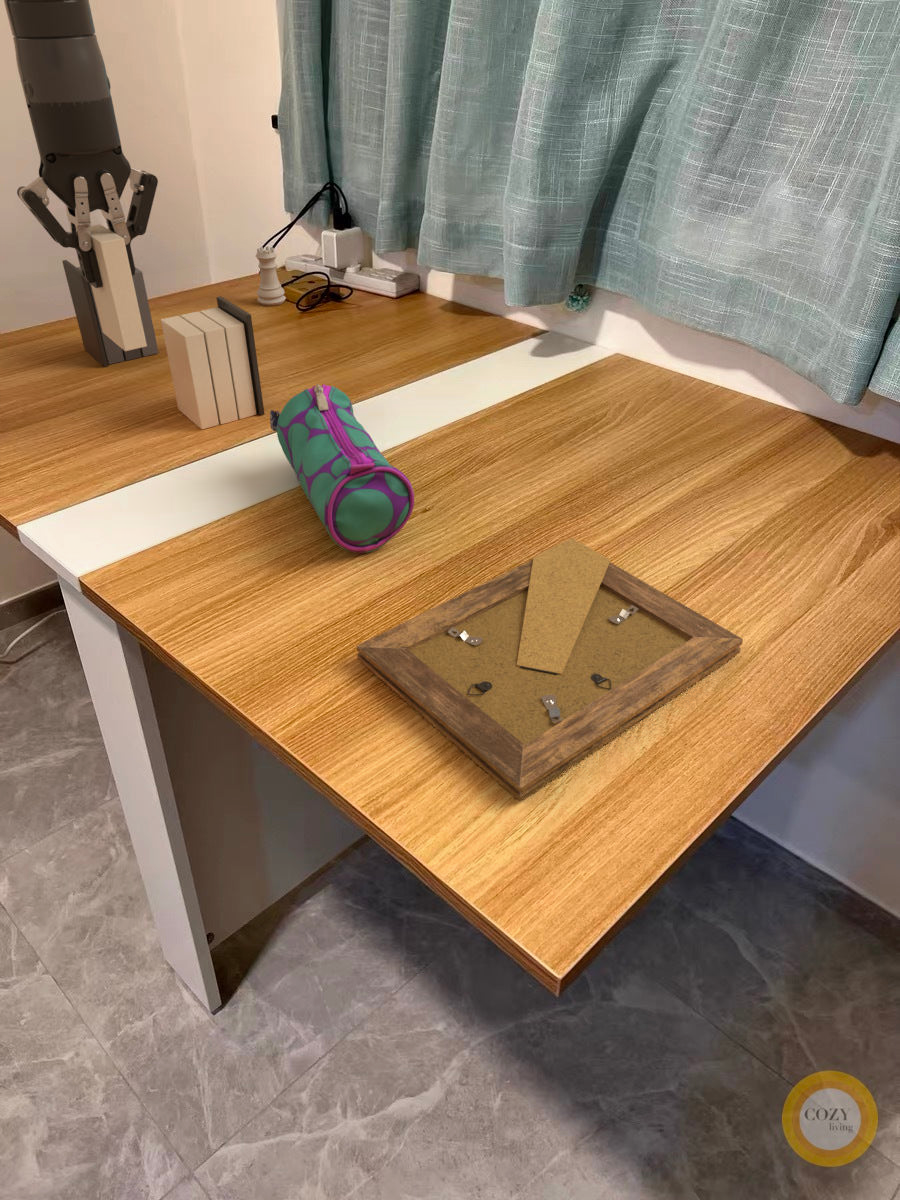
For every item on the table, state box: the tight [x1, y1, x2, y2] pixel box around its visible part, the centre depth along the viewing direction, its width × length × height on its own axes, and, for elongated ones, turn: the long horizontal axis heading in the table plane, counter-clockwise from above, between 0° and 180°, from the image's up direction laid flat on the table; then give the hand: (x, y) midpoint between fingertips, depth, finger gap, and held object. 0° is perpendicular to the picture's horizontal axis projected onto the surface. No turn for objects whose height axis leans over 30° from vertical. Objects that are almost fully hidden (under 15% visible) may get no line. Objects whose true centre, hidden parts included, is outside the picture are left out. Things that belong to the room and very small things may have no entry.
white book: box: [90, 223, 147, 351], centre depth 93 cm, size 2×7×11 cm, turn 36°
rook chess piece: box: [255, 246, 287, 307], centre depth 137 cm, size 4×4×8 cm
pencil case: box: [269, 384, 415, 554], centre depth 86 cm, size 21×9×10 cm, turn 22°
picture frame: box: [356, 537, 744, 802], centre depth 69 cm, size 19×2×24 cm
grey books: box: [61, 259, 160, 368], centre depth 119 cm, size 8×8×12 cm
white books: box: [160, 296, 265, 431], centre depth 103 cm, size 8×8×12 cm
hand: (111, 282), depth 92 cm, fingers closed on white book, 2 cm apart
